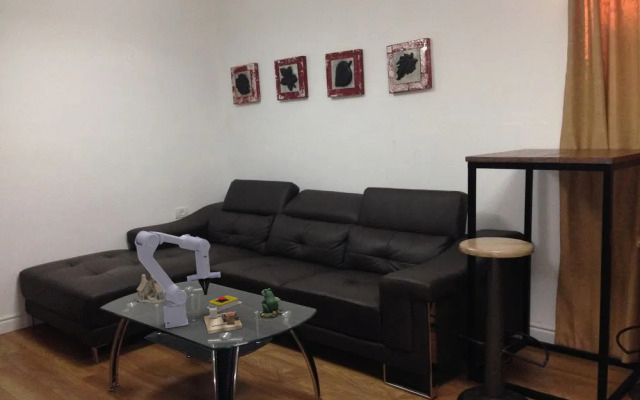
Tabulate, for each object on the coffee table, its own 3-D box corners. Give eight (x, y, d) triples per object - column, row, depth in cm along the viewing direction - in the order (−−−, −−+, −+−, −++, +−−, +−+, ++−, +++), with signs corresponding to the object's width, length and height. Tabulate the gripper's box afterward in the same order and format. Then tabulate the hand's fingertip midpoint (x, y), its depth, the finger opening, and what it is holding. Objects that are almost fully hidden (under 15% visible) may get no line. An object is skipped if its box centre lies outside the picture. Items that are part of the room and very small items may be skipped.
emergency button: (204, 299, 255) (230, 291, 266) (205, 308, 256) (231, 300, 267) (216, 303, 249) (242, 294, 260) (217, 312, 250) (243, 303, 260)
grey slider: (210, 318, 236) (210, 310, 235) (210, 316, 239) (209, 308, 238) (217, 317, 237) (217, 309, 236) (216, 315, 240) (216, 307, 239)
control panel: (208, 334, 223) (207, 327, 223) (204, 319, 240) (203, 313, 240) (242, 328, 227) (241, 321, 227) (235, 314, 244) (235, 308, 244)
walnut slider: (227, 324, 228) (226, 316, 227) (226, 322, 231) (226, 314, 230) (234, 323, 229) (234, 315, 228) (233, 320, 231) (233, 313, 231)
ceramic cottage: (134, 298, 277) (132, 269, 274) (167, 292, 285) (165, 265, 282) (140, 308, 263) (138, 278, 261) (174, 302, 271) (173, 273, 269)
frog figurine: (276, 304, 256) (274, 280, 254) (299, 313, 242) (298, 288, 240) (244, 314, 244) (241, 289, 243) (266, 324, 231) (264, 298, 229)
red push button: (226, 320, 232) (225, 315, 232) (225, 317, 236) (224, 312, 236) (235, 318, 234) (235, 314, 233) (234, 315, 237) (233, 311, 237)
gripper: (186, 269, 237) (189, 299, 239) (220, 265, 241) (222, 294, 243) (185, 265, 244) (188, 294, 246) (218, 261, 248) (220, 290, 250)
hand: (205, 294), depth 245 cm, fingers closed
